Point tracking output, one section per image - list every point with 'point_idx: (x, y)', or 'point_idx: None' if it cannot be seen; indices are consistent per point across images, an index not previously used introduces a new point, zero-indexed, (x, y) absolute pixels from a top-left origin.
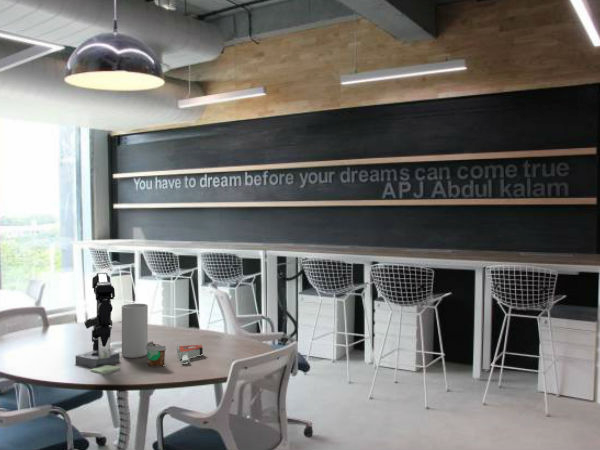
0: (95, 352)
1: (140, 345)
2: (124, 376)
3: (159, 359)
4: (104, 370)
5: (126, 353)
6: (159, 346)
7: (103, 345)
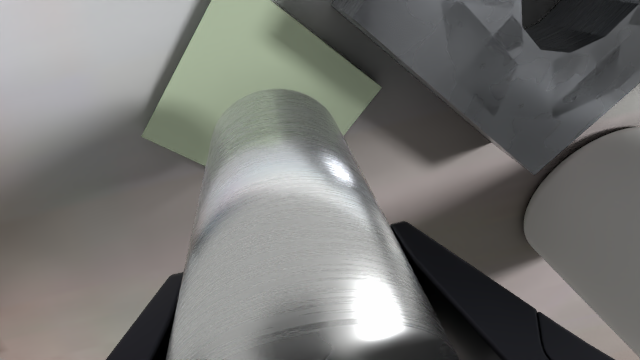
0: None
1: (578, 291)
2: (120, 261)
3: None
4: (202, 120)
5: (574, 183)
6: None
7: (162, 302)
